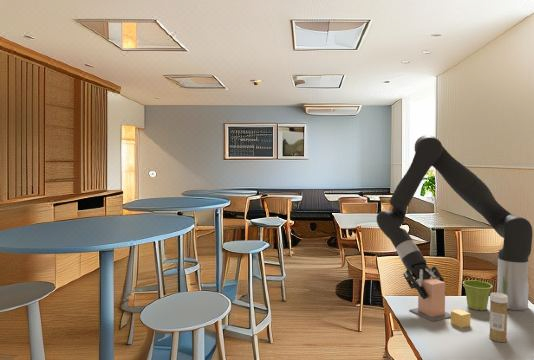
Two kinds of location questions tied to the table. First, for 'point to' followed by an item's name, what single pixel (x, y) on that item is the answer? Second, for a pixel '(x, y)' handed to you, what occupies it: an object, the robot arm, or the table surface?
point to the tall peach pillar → (432, 298)
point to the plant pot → (477, 294)
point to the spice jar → (498, 316)
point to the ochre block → (460, 318)
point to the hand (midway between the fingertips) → (435, 296)
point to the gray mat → (430, 316)
